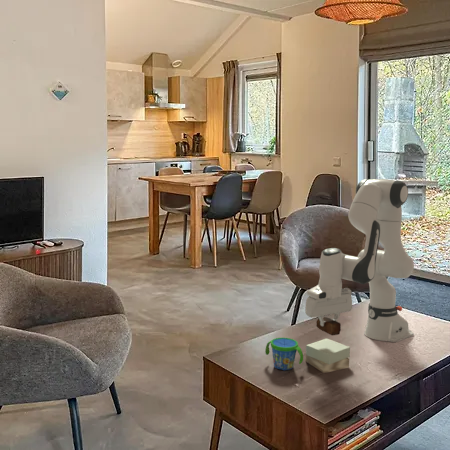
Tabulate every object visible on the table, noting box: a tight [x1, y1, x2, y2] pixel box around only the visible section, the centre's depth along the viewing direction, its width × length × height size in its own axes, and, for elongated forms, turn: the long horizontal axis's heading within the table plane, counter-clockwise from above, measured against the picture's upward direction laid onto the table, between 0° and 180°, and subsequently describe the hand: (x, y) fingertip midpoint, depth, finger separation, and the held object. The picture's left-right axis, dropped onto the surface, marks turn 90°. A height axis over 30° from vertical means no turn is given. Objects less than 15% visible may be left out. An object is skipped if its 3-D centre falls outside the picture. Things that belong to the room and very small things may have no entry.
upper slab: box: [305, 338, 351, 364], centre depth 217 cm, size 12×12×4 cm
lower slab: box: [305, 354, 350, 374], centre depth 217 cm, size 12×12×4 cm
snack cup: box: [265, 337, 304, 372], centre depth 214 cm, size 16×10×10 cm
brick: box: [316, 316, 341, 336], centre depth 215 cm, size 11×4×5 cm, turn 26°
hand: (328, 324), depth 215 cm, fingers closed on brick, 4 cm apart
